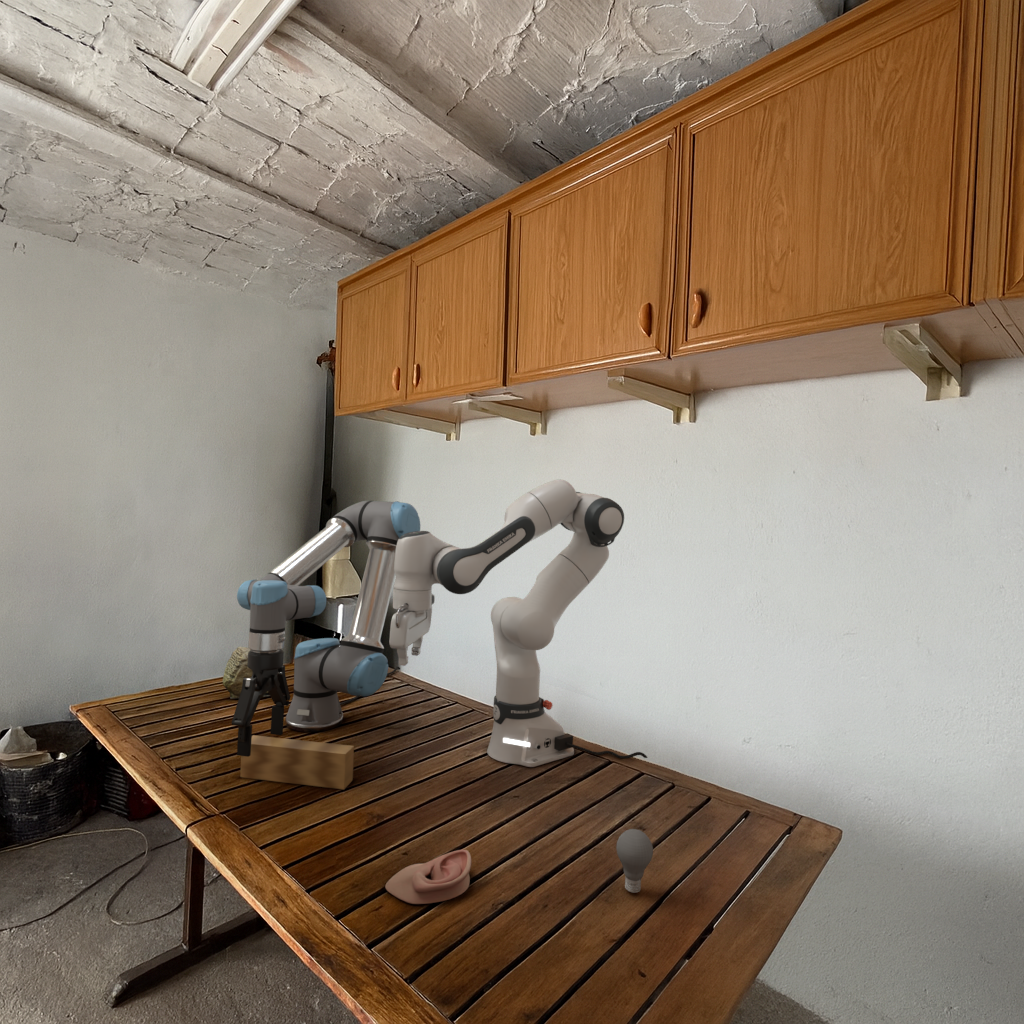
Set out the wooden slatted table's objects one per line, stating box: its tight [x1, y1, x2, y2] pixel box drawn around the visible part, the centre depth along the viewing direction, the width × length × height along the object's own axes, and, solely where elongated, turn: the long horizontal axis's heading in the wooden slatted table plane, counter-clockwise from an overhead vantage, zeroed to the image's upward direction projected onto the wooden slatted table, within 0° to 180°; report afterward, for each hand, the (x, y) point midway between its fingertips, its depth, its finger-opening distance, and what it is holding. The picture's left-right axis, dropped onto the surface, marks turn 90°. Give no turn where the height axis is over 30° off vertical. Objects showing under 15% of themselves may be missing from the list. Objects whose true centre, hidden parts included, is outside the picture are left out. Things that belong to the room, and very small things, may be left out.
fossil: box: [222, 646, 271, 699], centre depth 198 cm, size 9×18×15 cm, turn 132°
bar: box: [240, 734, 355, 790], centre depth 142 cm, size 24×5×8 cm, turn 81°
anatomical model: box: [385, 849, 472, 905], centre depth 105 cm, size 13×4×12 cm
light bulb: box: [615, 828, 654, 894], centre depth 106 cm, size 6×6×10 cm
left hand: (260, 744), depth 142 cm, fingers open, 13 cm apart
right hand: (409, 659), depth 148 cm, fingers open, 8 cm apart
